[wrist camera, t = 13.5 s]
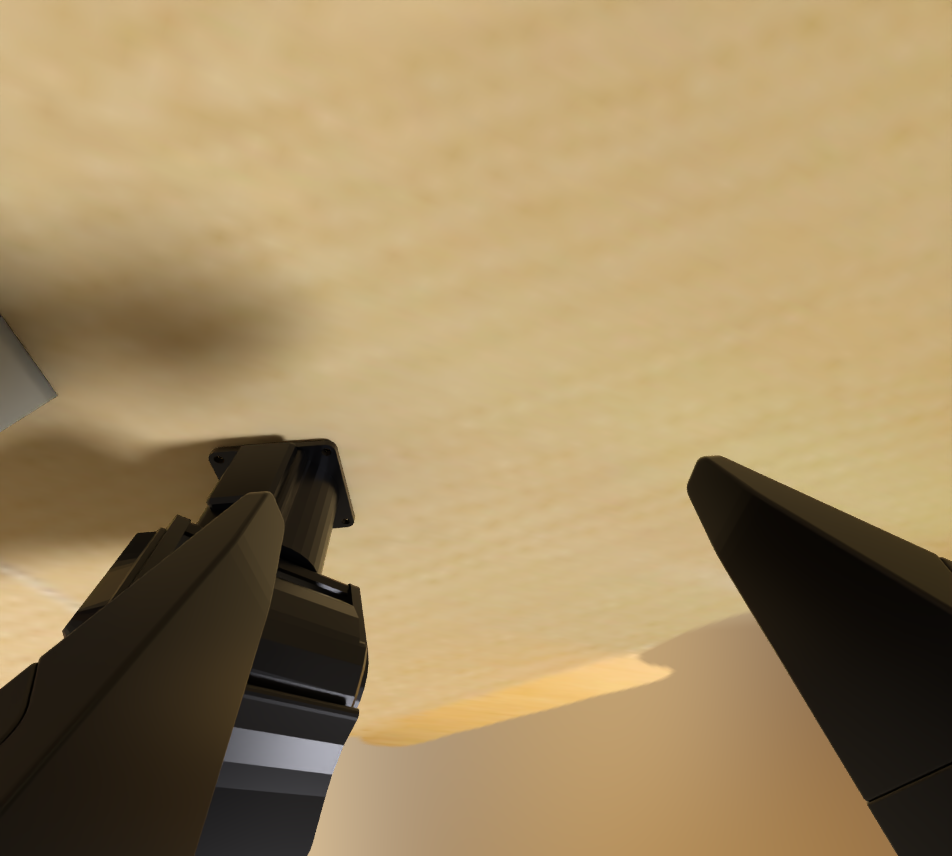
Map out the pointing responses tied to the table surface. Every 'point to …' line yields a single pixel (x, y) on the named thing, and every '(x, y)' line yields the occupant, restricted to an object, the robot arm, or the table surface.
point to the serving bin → (19, 380)
